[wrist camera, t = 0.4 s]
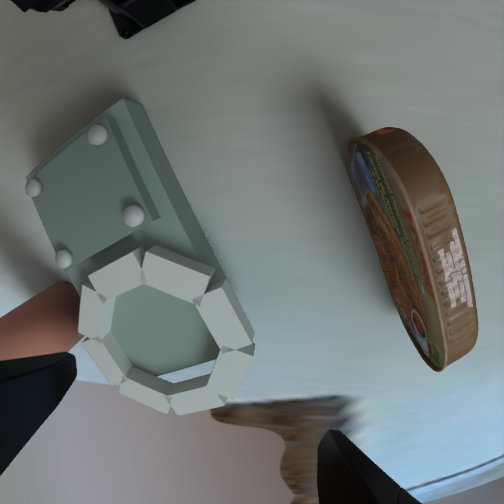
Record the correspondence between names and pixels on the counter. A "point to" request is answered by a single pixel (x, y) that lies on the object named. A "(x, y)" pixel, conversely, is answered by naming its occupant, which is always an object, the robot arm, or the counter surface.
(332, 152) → the counter surface
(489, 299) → the counter surface
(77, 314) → the oil can
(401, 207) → the tin
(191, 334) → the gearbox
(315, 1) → the counter surface
